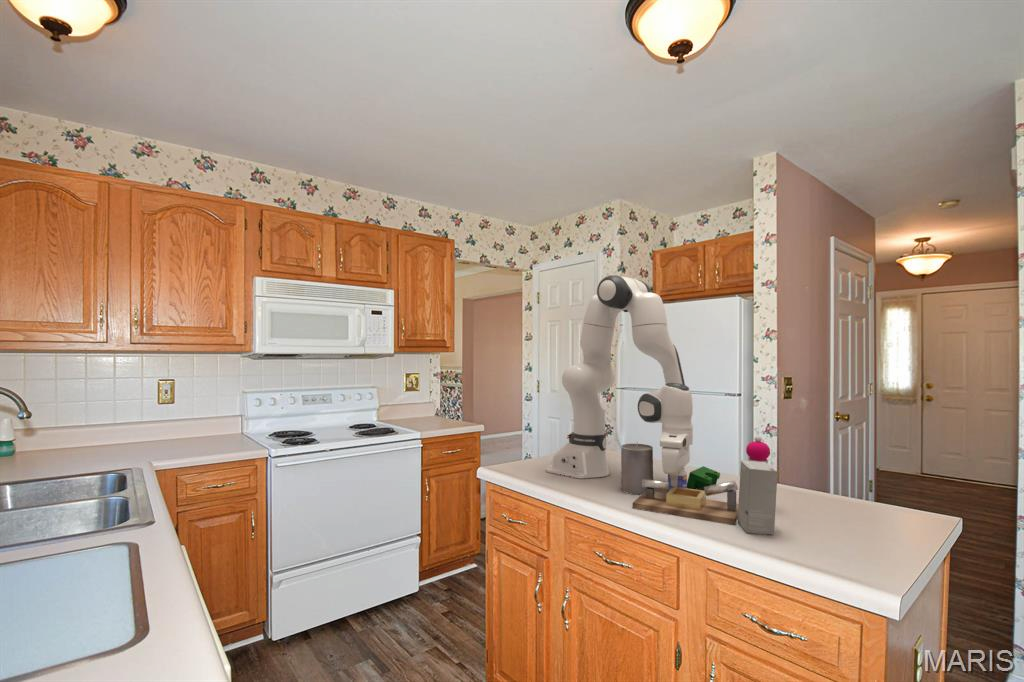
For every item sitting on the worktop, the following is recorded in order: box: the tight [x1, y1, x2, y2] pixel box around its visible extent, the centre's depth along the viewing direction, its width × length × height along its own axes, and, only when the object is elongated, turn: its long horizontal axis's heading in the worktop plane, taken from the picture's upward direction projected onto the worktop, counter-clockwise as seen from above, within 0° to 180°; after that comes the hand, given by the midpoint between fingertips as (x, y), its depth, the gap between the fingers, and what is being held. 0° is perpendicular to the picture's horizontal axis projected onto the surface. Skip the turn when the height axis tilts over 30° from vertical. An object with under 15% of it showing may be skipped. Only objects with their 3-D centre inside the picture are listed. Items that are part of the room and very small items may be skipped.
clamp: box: [687, 466, 721, 491], centre depth 158 cm, size 12×6×9 cm, turn 132°
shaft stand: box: [631, 479, 739, 526], centre depth 137 cm, size 26×14×9 cm, turn 60°
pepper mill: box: [745, 435, 771, 464], centre depth 138 cm, size 7×7×20 cm
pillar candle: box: [620, 442, 654, 495], centre depth 155 cm, size 10×10×15 cm
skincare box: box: [737, 459, 778, 536], centre depth 122 cm, size 8×7×16 cm
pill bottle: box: [667, 464, 688, 493], centre depth 150 cm, size 5×5×10 cm
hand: (677, 483), depth 150 cm, fingers closed on pill bottle, 5 cm apart
